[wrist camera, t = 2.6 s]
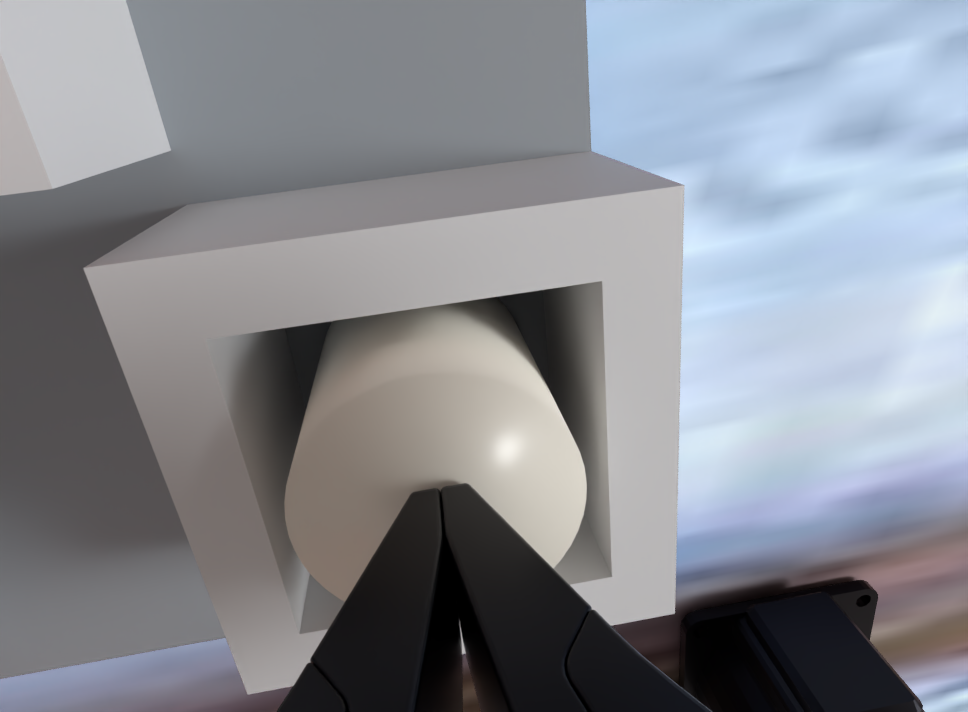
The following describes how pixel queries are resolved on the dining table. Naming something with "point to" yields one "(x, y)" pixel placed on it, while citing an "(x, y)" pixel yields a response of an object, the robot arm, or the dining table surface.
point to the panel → (296, 295)
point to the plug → (427, 435)
